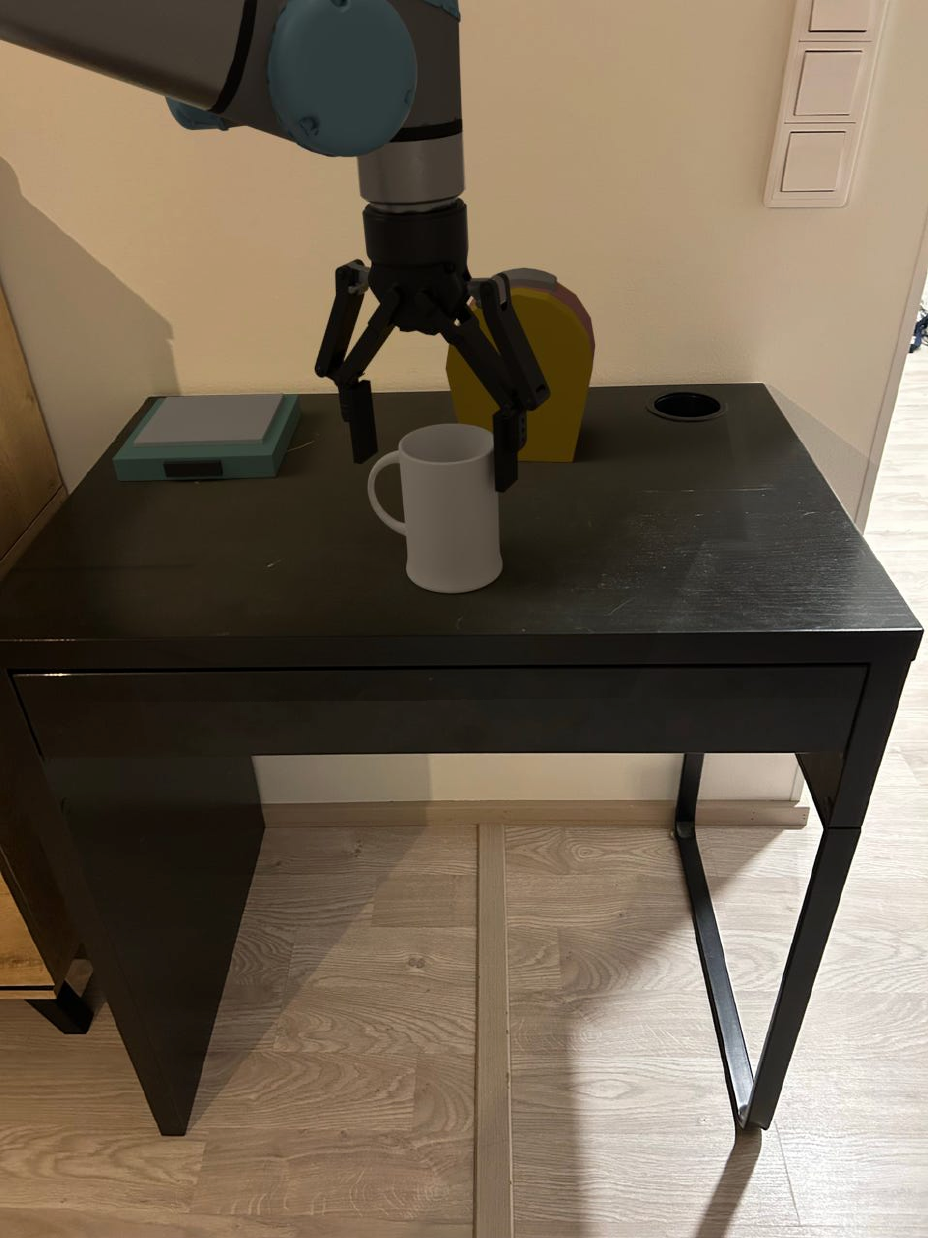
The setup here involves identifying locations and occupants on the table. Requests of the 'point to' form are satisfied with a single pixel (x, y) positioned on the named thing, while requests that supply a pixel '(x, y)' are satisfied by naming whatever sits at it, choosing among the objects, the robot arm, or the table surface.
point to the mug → (446, 507)
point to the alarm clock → (561, 354)
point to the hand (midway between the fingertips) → (434, 471)
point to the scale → (210, 438)
